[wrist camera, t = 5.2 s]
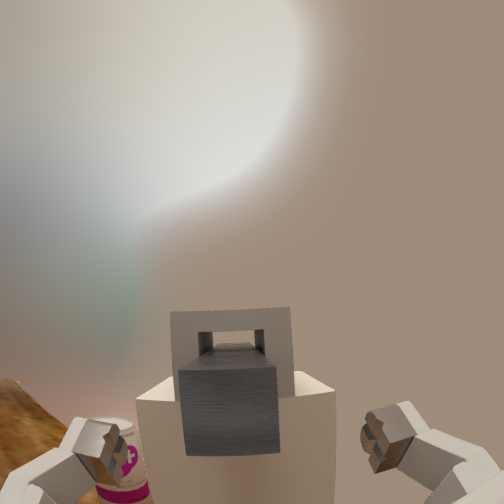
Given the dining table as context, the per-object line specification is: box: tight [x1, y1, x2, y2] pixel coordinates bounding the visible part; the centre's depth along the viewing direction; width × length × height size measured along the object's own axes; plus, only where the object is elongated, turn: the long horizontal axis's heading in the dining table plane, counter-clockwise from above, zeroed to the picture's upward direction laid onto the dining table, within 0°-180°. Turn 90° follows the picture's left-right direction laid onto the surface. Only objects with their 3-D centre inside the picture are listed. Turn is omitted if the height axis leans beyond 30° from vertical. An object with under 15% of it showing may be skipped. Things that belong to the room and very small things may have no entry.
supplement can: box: [91, 416, 152, 504], centre depth 29 cm, size 8×8×15 cm
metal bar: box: [178, 342, 280, 456], centre depth 18 cm, size 3×20×3 cm, turn 3°
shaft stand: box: [135, 307, 336, 504], centre depth 18 cm, size 12×10×29 cm
